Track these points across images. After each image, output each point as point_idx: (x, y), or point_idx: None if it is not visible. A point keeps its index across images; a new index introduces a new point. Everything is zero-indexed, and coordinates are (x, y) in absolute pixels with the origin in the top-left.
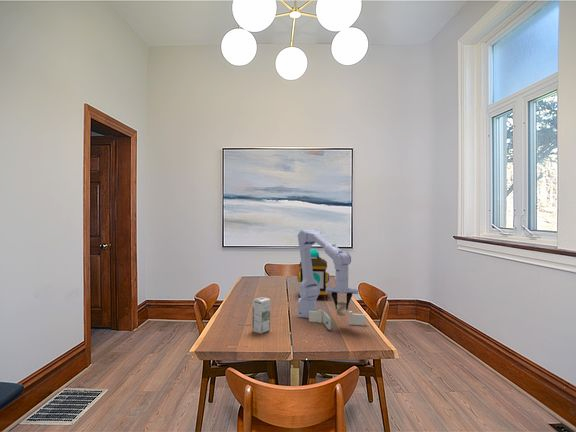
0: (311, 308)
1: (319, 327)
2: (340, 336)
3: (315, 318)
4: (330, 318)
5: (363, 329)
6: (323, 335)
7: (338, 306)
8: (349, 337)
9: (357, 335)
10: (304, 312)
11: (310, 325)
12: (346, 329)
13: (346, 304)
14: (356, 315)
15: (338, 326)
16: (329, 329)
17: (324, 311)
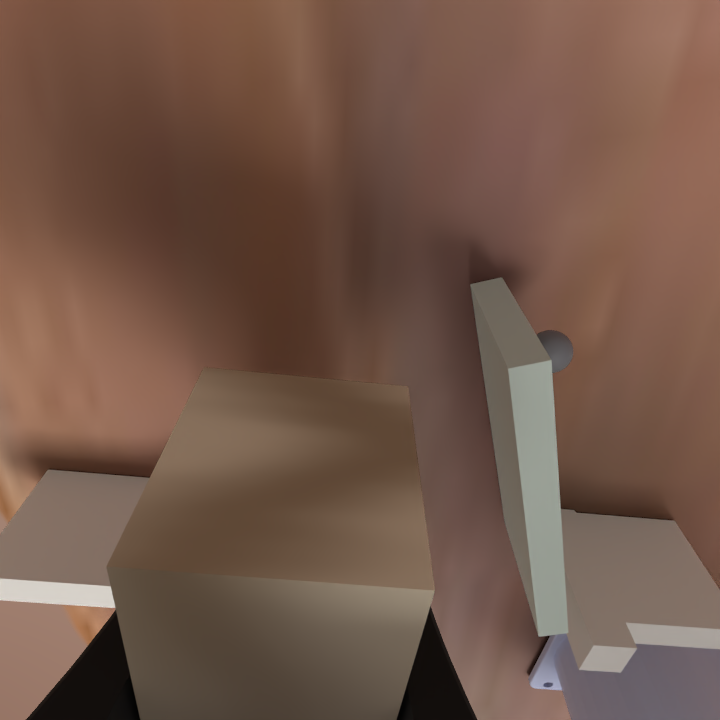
0: (662, 706)
1: (596, 380)
2: (346, 58)
3: (621, 549)
4: (516, 376)
5: (47, 364)
6: (616, 77)
7: (376, 553)
8: (199, 24)
9: (86, 135)
10: (711, 658)
11: (691, 428)
12: (258, 346)
13: (125, 676)
14: (103, 572)
15: None
16: (492, 282)
17: (544, 629)
